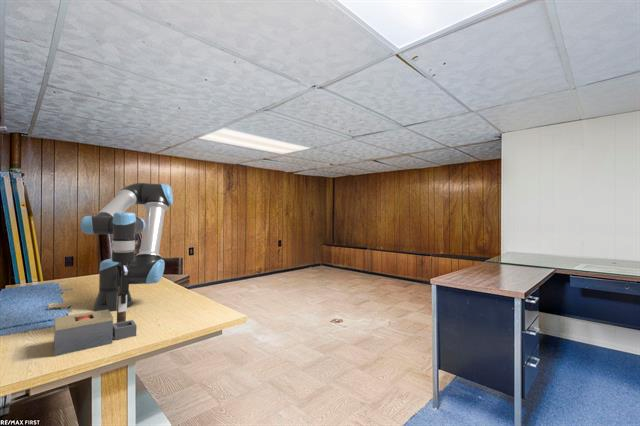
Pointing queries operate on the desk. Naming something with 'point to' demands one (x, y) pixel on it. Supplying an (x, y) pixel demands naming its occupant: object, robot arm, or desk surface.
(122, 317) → the brown rounded rod
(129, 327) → the holder
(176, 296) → the desk surface
